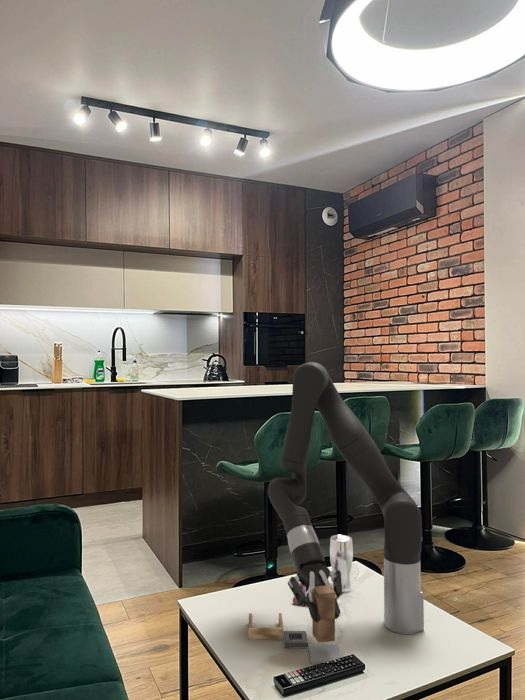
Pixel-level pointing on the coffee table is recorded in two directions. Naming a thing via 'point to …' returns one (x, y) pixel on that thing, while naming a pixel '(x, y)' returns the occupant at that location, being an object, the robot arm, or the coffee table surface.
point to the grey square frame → (295, 643)
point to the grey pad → (323, 653)
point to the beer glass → (342, 558)
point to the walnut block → (324, 614)
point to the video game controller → (302, 590)
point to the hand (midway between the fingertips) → (327, 619)
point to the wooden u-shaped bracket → (265, 630)
